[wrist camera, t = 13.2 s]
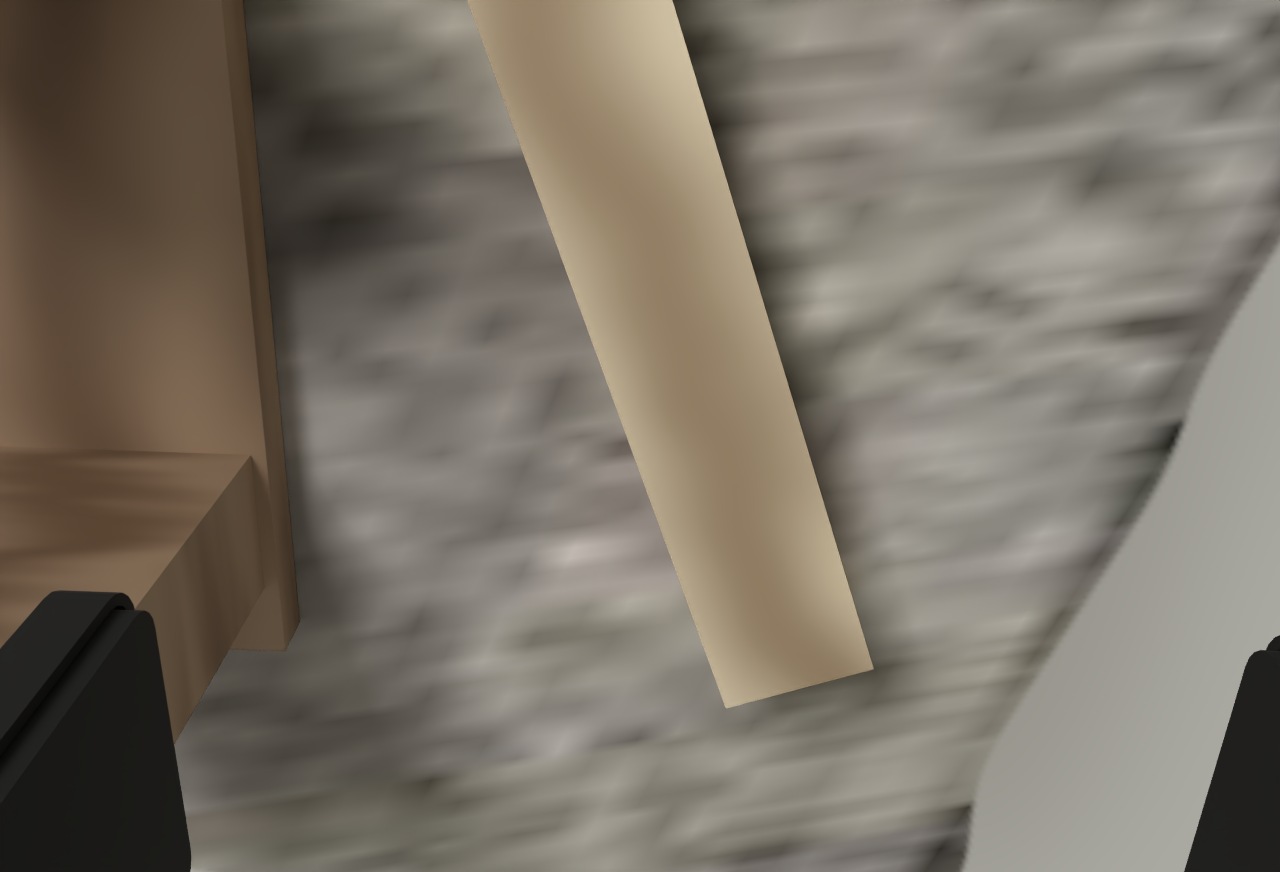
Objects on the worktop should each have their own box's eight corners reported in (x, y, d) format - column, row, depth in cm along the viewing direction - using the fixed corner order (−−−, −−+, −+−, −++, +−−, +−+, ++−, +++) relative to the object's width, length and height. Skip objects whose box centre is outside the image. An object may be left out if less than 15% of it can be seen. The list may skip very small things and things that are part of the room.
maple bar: (572, -332, 25) (559, -375, 22) (849, 589, 34) (873, 669, 31) (400, -264, 26) (359, -295, 22) (717, 625, 35) (725, 708, 31)
